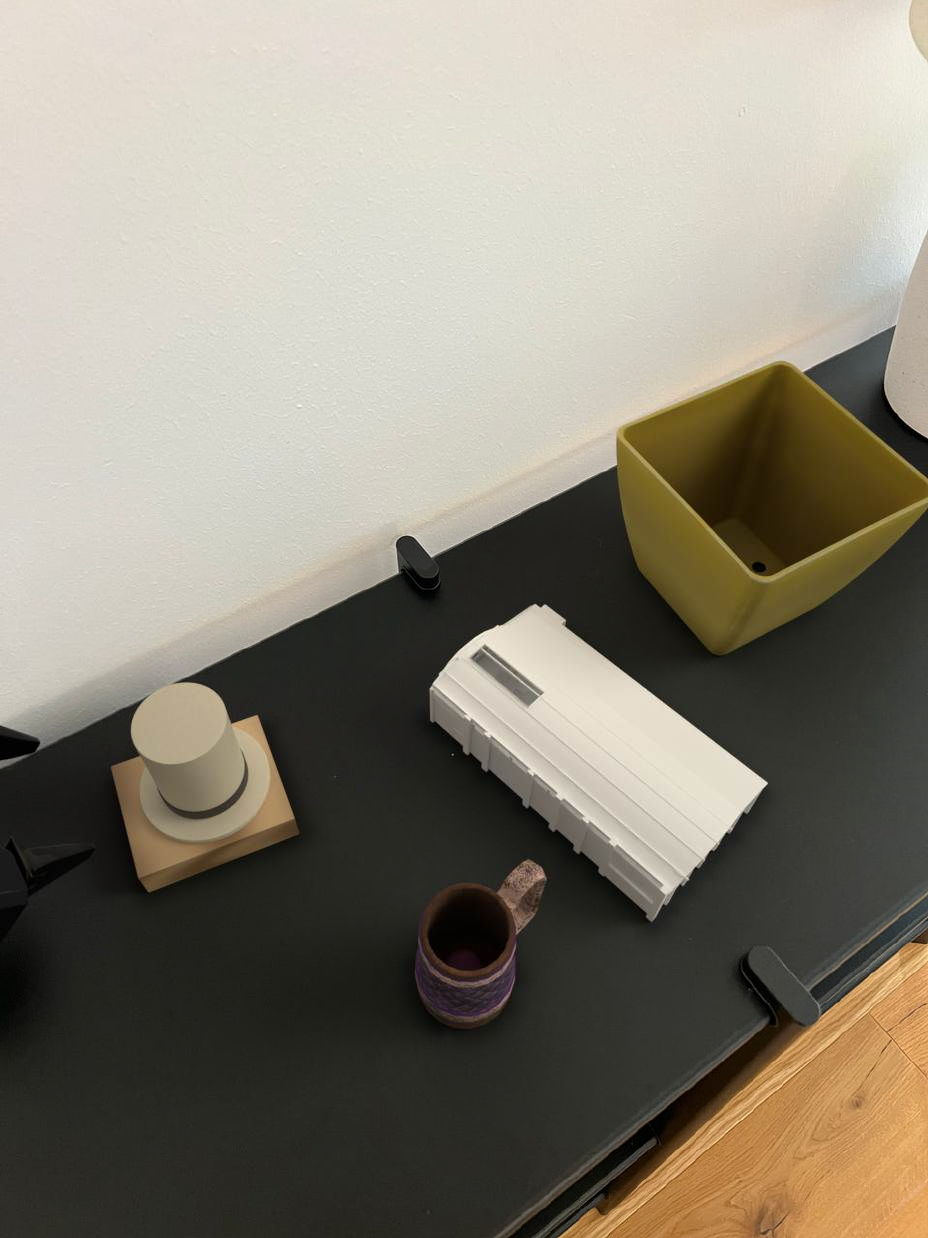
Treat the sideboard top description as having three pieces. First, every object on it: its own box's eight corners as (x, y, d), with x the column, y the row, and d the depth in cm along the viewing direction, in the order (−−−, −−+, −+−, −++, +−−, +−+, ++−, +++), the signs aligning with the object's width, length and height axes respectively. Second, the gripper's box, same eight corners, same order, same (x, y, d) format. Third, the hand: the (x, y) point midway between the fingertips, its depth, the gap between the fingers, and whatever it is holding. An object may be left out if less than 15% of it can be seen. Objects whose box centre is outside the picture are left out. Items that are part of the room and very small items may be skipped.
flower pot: (709, 703, 83) (761, 584, 69) (586, 556, 93) (611, 427, 79) (868, 617, 89) (945, 492, 75) (737, 487, 98) (784, 356, 85)
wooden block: (148, 893, 72) (138, 878, 70) (120, 783, 78) (110, 766, 75) (299, 834, 75) (294, 818, 73) (263, 732, 81) (257, 714, 78)
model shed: (766, 800, 78) (792, 760, 72) (656, 927, 71) (674, 894, 66) (540, 623, 88) (546, 576, 82) (425, 720, 82) (424, 677, 76)
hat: (213, 868, 70) (185, 813, 63) (113, 802, 73) (74, 741, 66) (296, 765, 75) (279, 703, 68) (199, 707, 78) (173, 641, 71)
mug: (457, 1054, 66) (460, 1009, 56) (395, 972, 69) (388, 917, 59) (565, 959, 70) (584, 902, 60) (501, 886, 73) (511, 821, 63)
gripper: (-92, 852, 42) (188, 821, 55) (-200, 583, 51) (63, 610, 64) (-184, 1006, 46) (99, 943, 59) (-270, 729, 55) (-7, 727, 67)
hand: (63, 796), depth 62 cm, fingers open, 9 cm apart
